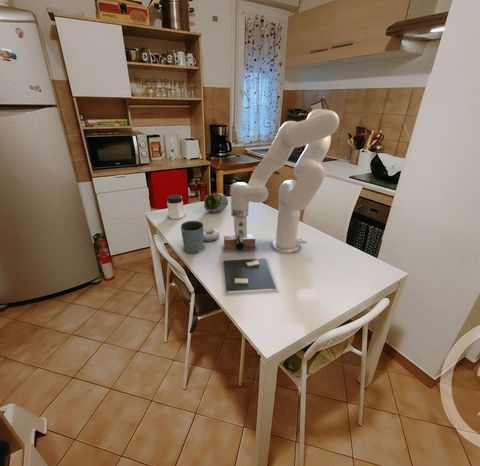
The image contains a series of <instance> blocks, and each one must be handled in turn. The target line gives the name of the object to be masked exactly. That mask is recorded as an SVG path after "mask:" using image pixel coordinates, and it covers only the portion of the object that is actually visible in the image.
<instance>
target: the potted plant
mask: <svg viewBox="0 0 480 466" xmlns="http://www.w3.org/2000/svg"><path fill="white" fill-rule="evenodd" d="M228 205H229V200H228V197H227V196H225V194H223V193H221V192H219V193H217V192H216V193H215V192H214V193H211V194H207V195H206V196H205V197H204V201H203V208H204V209H205V210H206V211H209V212H212V213H213V214H217V213H219V212H223V211H224V210H225V209H226V208H227V206H228Z"/></svg>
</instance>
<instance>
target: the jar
mask: <svg viewBox="0 0 480 466" xmlns="http://www.w3.org/2000/svg"><path fill="white" fill-rule="evenodd" d="M166 205H167V213H168V217H169V218H170V219H171V220H179V219H182V218H183V217H185V210H184V201H183V197H182V195H180V194H171V195H168V196H166Z"/></svg>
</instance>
